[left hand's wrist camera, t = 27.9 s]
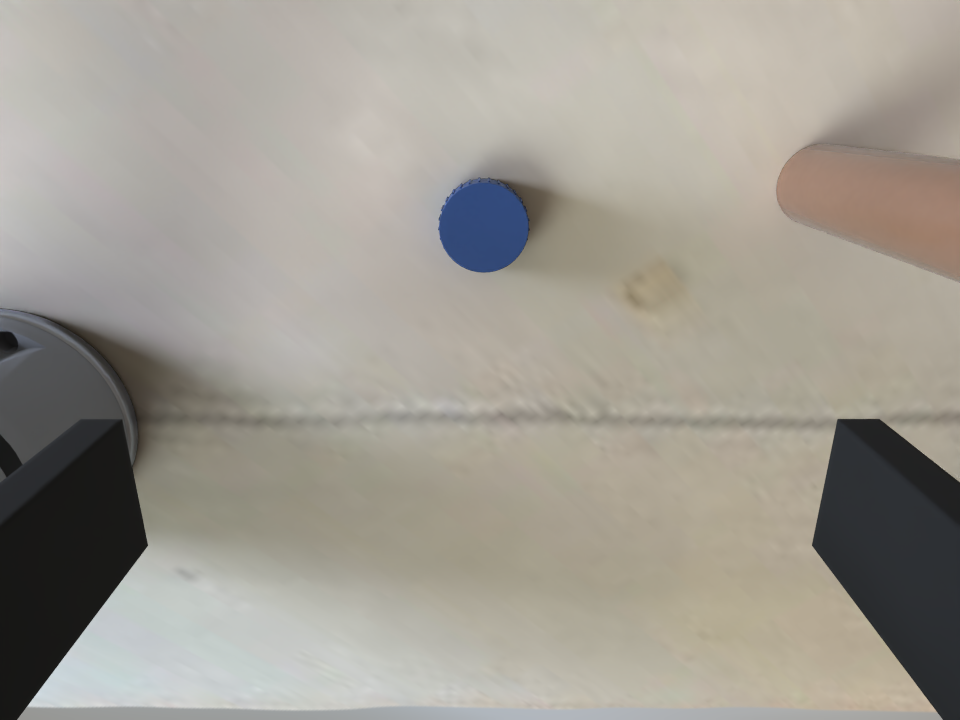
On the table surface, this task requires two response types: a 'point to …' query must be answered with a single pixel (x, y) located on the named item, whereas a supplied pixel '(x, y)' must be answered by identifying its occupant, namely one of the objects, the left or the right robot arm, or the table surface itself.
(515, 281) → the table surface
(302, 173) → the table surface
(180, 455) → the table surface
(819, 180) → the brown cylindrical piece
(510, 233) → the lid
